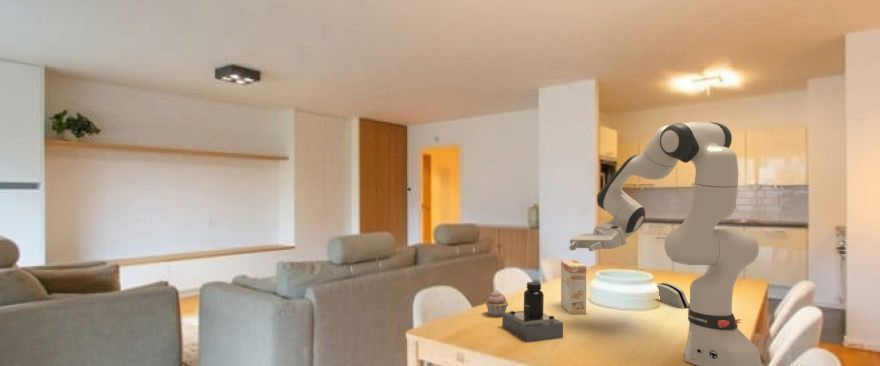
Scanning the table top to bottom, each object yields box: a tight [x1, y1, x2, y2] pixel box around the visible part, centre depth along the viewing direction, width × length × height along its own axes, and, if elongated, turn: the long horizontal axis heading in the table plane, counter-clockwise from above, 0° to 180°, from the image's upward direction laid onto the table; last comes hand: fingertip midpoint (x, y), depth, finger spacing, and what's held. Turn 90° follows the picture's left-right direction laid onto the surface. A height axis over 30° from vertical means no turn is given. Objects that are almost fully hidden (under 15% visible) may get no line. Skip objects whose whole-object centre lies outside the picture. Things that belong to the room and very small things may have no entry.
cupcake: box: [485, 289, 509, 318], centre depth 190 cm, size 9×9×10 cm
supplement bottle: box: [523, 281, 545, 320], centre depth 166 cm, size 7×7×12 cm
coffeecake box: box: [560, 259, 587, 315], centre depth 198 cm, size 15×7×20 cm, turn 179°
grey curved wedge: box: [656, 282, 690, 310], centre depth 207 cm, size 17×5×10 cm, turn 12°
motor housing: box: [501, 310, 564, 343], centre depth 169 cm, size 21×14×6 cm, turn 19°
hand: (580, 248), depth 170 cm, fingers open, 8 cm apart
